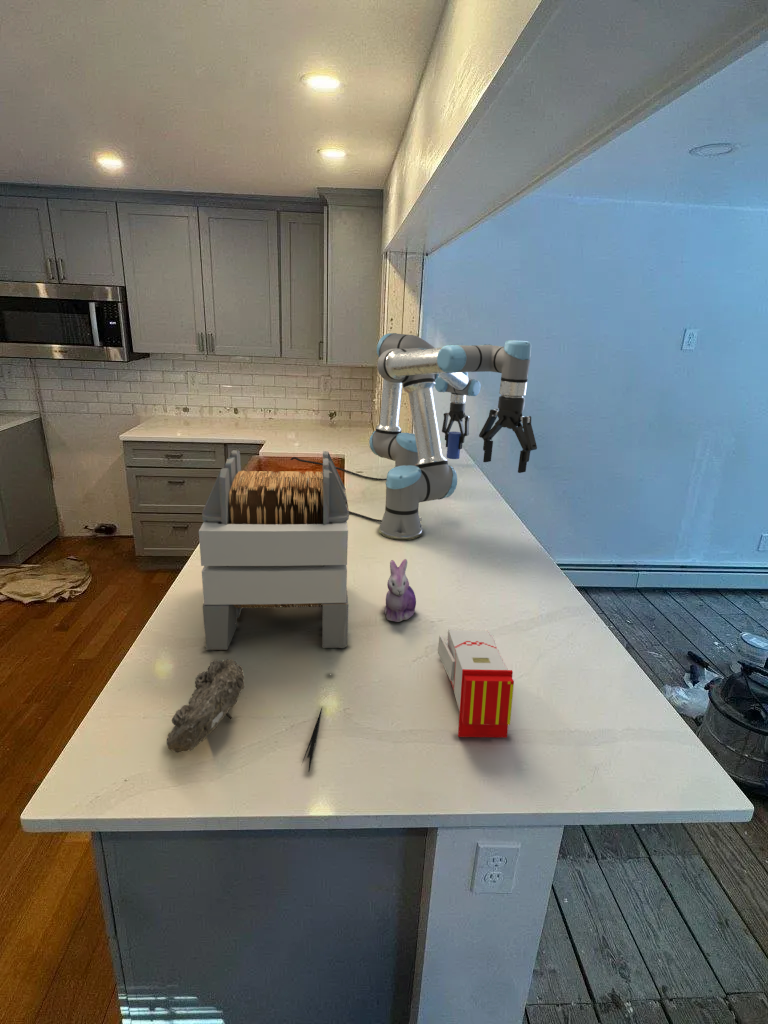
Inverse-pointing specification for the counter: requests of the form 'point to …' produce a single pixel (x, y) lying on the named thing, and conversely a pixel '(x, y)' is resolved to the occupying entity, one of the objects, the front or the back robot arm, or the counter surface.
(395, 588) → the figurine
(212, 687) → the fossil
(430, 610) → the counter surface
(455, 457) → the can
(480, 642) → the toy
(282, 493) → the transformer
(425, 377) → the front robot arm
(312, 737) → the feather
